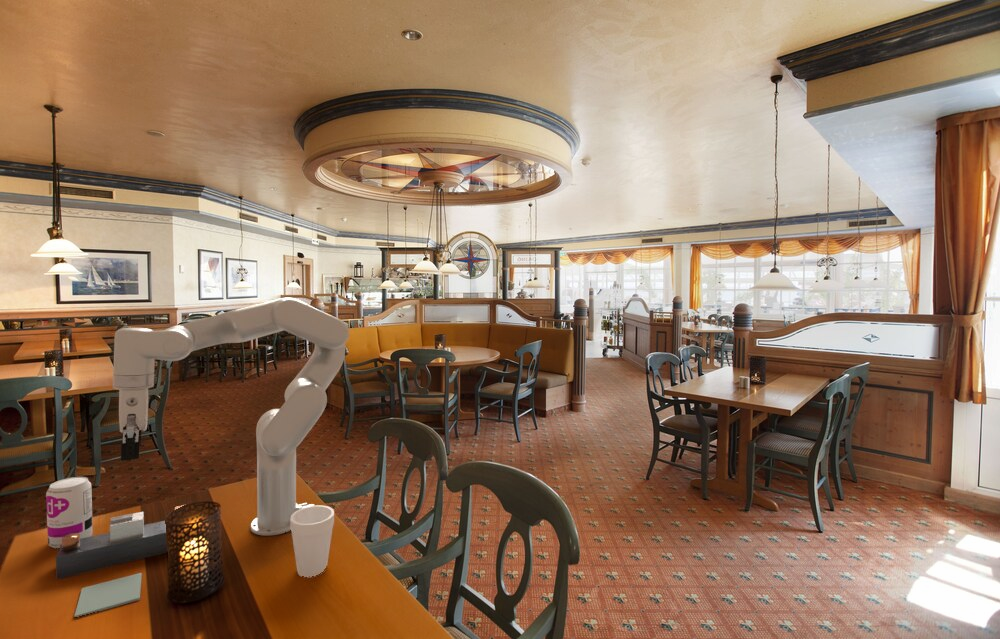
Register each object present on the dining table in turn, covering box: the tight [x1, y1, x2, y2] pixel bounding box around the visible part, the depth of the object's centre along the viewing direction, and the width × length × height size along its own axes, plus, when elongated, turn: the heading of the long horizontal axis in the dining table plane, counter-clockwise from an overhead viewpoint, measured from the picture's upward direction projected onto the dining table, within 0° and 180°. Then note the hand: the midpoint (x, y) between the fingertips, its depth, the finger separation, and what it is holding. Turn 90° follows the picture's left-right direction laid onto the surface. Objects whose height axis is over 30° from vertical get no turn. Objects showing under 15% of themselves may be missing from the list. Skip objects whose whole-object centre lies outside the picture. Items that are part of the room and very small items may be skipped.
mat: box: [73, 572, 143, 617], centre depth 97 cm, size 10×10×1 cm
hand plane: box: [55, 504, 185, 580], centre depth 111 cm, size 24×7×9 cm, turn 126°
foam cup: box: [290, 504, 335, 578], centre depth 107 cm, size 10×9×13 cm
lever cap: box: [109, 511, 145, 543], centre depth 111 cm, size 6×4×5 cm
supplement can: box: [45, 476, 94, 550], centre depth 116 cm, size 8×8×15 cm
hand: (131, 452), depth 109 cm, fingers open, 9 cm apart
